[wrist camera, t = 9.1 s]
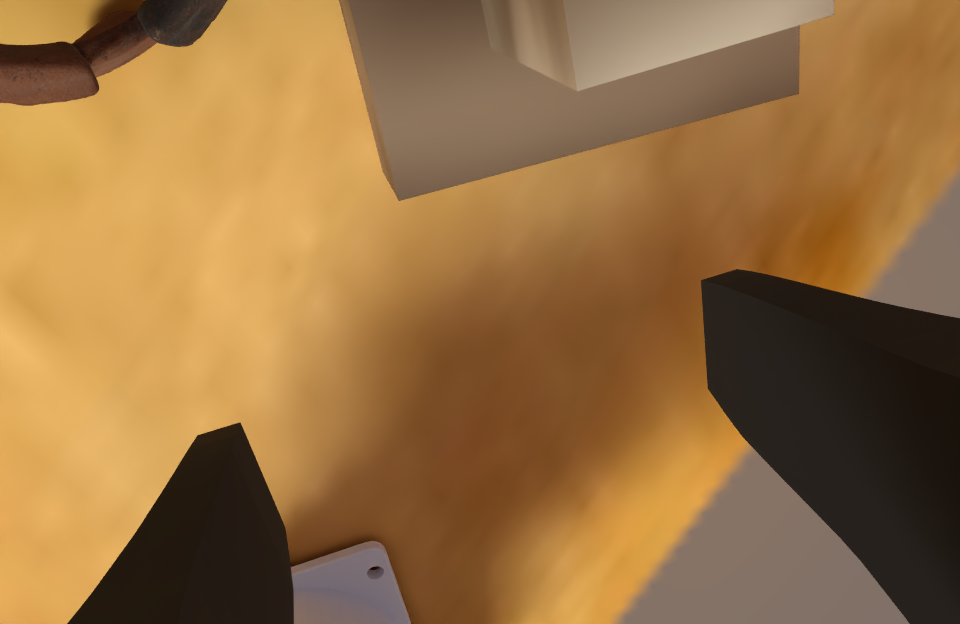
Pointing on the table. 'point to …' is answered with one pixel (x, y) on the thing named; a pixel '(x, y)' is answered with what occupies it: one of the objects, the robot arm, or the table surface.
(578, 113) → the grey flat square block
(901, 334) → the robot arm
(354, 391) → the table surface
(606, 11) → the maple cube
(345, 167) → the table surface
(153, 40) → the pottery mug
